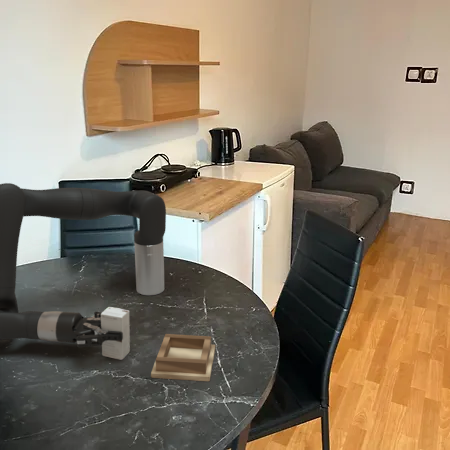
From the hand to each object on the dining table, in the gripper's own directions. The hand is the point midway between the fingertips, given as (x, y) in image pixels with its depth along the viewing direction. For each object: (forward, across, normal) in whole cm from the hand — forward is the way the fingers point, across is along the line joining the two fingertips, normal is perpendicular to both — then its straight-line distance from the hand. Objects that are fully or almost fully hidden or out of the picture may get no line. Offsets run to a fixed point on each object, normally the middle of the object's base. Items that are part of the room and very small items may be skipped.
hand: (125, 330), depth 121 cm
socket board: (+15, -2, +7) cm, 17 cm away
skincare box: (-3, 0, +7) cm, 8 cm away
